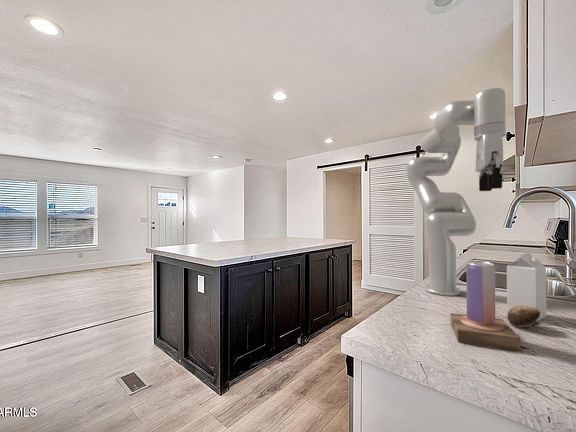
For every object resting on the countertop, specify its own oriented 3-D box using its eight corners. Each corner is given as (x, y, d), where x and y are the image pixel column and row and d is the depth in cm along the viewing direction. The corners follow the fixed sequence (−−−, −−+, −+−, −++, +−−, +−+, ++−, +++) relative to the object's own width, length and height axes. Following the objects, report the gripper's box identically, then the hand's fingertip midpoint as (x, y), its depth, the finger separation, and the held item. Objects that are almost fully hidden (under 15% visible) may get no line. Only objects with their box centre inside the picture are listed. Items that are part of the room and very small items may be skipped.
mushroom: (554, 317, 72) (536, 297, 74) (545, 336, 68) (525, 314, 70) (524, 322, 79) (507, 303, 80) (514, 338, 75) (497, 318, 76)
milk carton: (506, 314, 83) (506, 252, 83) (517, 309, 87) (516, 250, 87) (536, 322, 77) (536, 255, 77) (546, 317, 81) (546, 253, 80)
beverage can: (468, 323, 68) (467, 264, 68) (465, 315, 73) (465, 260, 73) (497, 328, 65) (497, 266, 65) (492, 319, 70) (492, 262, 70)
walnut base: (450, 323, 77) (450, 311, 77) (502, 330, 72) (502, 317, 72) (458, 342, 66) (458, 327, 66) (520, 351, 61) (520, 335, 61)
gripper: (468, 141, 90) (468, 192, 90) (482, 126, 74) (482, 188, 75) (495, 138, 87) (496, 191, 88) (516, 121, 72) (516, 186, 72)
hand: (489, 189), depth 81 cm, fingers open, 9 cm apart
